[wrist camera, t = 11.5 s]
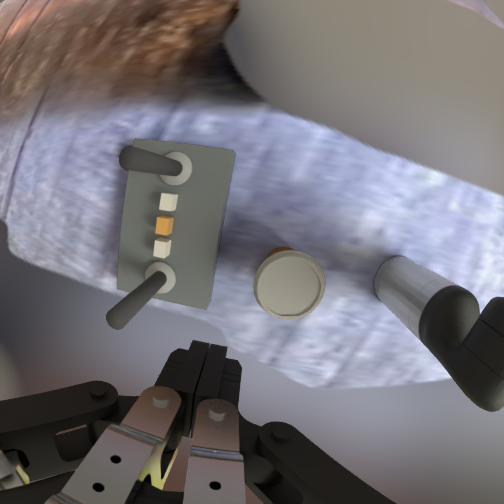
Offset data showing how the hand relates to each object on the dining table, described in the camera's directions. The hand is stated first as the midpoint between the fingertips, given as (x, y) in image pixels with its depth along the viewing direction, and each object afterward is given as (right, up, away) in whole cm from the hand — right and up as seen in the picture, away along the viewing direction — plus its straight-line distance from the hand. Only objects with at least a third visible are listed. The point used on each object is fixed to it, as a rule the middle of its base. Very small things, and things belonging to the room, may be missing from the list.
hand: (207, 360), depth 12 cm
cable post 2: (-12, +1, +34) cm, 36 cm away
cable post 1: (-9, +17, +30) cm, 36 cm away
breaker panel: (-11, +10, +36) cm, 39 cm away
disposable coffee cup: (+7, +2, +37) cm, 38 cm away
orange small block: (-11, +9, +32) cm, 35 cm away
